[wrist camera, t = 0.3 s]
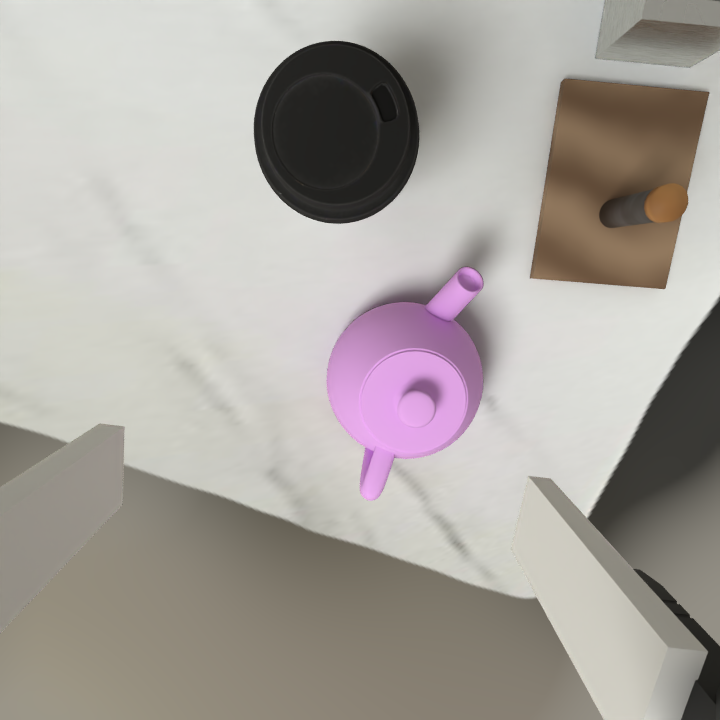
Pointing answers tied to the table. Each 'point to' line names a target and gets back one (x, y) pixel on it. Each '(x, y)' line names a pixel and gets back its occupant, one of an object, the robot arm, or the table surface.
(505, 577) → the table surface
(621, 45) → the hollow square block
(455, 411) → the teapot
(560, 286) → the table surface
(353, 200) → the coffee cup
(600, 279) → the keeper
